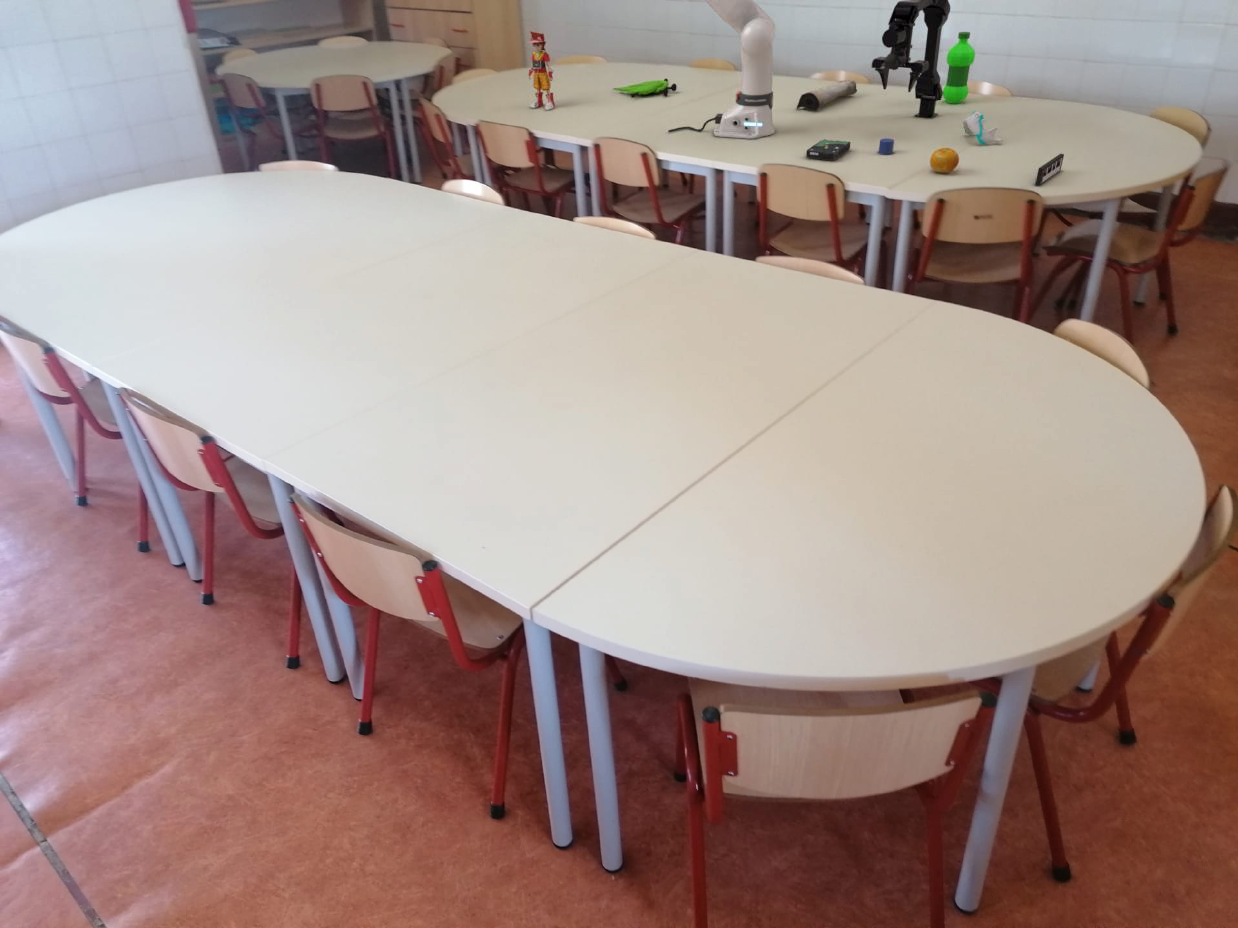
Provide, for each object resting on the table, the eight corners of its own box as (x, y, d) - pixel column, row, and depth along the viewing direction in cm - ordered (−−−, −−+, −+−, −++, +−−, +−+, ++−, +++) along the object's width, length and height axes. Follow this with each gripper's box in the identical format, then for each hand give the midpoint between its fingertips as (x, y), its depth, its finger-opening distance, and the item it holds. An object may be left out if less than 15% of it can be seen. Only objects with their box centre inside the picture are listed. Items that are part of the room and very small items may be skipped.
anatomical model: (956, 110, 312) (985, 102, 311) (957, 139, 318) (985, 132, 317) (974, 121, 300) (1004, 113, 299) (974, 151, 306) (1003, 144, 305)
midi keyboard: (1039, 185, 269) (1043, 168, 266) (1035, 184, 270) (1038, 168, 267) (1060, 170, 279) (1064, 154, 277) (1056, 169, 280) (1060, 153, 277)
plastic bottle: (973, 101, 354) (984, 32, 339) (955, 106, 349) (966, 36, 335) (952, 97, 361) (962, 29, 346) (934, 102, 356) (944, 33, 342)
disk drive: (834, 162, 299) (850, 149, 309) (835, 153, 297) (851, 141, 307) (805, 158, 304) (821, 146, 314) (806, 150, 302) (822, 138, 312)
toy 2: (686, 85, 398) (631, 84, 414) (685, 72, 395) (629, 72, 411) (651, 104, 381) (596, 103, 397) (650, 92, 378) (594, 91, 394)
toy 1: (525, 109, 381) (517, 32, 364) (534, 104, 388) (527, 28, 371) (550, 110, 377) (543, 32, 360) (559, 105, 384) (553, 28, 367)
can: (886, 155, 302) (888, 143, 300) (875, 152, 305) (877, 140, 303) (895, 152, 304) (897, 140, 302) (884, 150, 308) (885, 137, 305)
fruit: (924, 163, 281) (941, 140, 278) (925, 165, 289) (941, 143, 286) (946, 178, 280) (963, 155, 277) (947, 180, 288) (963, 158, 285)
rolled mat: (832, 85, 375) (848, 69, 367) (844, 103, 376) (861, 88, 367) (792, 103, 358) (809, 87, 350) (805, 122, 358) (822, 107, 350)
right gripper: (866, 44, 306) (861, 92, 315) (917, 49, 296) (911, 98, 305) (881, 39, 313) (876, 86, 322) (932, 43, 303) (925, 91, 312)
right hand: (896, 90), depth 315 cm, fingers open, 9 cm apart
